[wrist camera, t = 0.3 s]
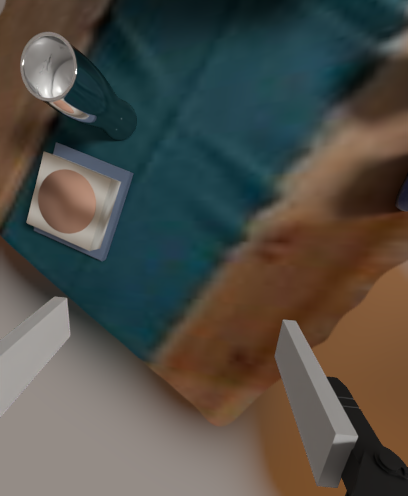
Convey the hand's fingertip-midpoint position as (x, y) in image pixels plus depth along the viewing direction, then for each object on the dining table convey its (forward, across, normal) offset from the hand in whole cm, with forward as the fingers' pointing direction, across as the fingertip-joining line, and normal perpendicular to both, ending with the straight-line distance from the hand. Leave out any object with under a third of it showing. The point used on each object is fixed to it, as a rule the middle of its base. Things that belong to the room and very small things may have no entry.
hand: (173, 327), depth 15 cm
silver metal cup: (+31, -14, +15) cm, 38 cm away
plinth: (+29, -21, +2) cm, 35 cm away
